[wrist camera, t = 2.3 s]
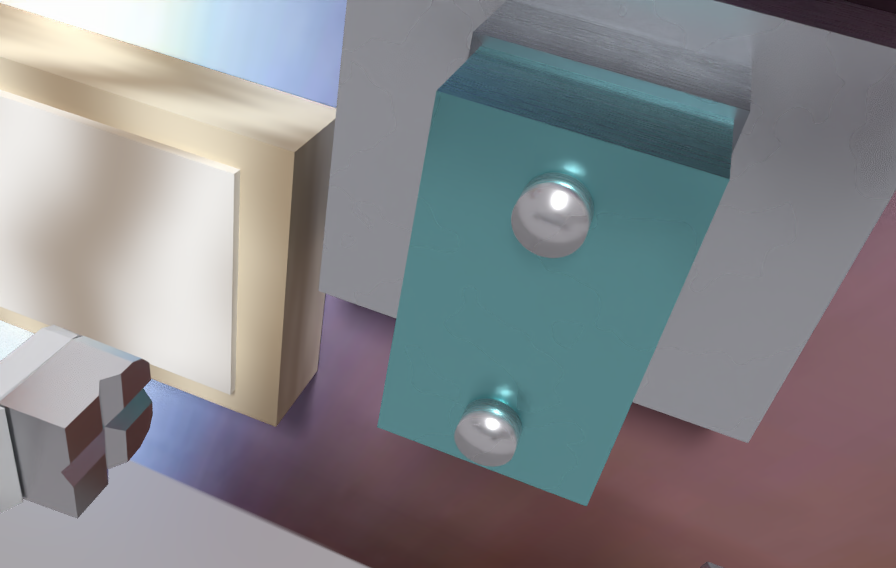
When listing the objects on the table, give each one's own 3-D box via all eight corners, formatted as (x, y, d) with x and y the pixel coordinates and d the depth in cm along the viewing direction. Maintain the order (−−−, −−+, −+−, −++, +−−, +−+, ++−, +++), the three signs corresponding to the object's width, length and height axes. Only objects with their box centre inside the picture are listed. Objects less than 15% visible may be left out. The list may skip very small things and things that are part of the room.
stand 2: (936, 24, 17) (966, 68, 14) (749, 371, 23) (747, 443, 20) (408, -113, 19) (356, -95, 16) (361, 239, 24) (318, 291, 22)
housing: (751, 67, 15) (748, 189, 11) (626, 367, 20) (588, 538, 16) (508, -1, 16) (412, 87, 12) (442, 303, 21) (356, 449, 16)
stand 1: (344, 111, 22) (289, 156, 20) (317, 370, 28) (271, 433, 25) (-16, -2, 24) (-111, 26, 22) (28, 263, 30) (-41, 311, 27)
